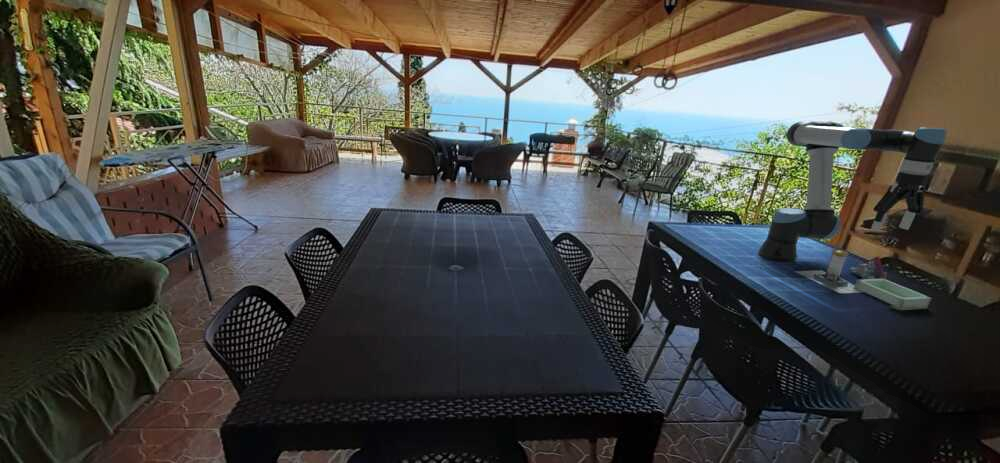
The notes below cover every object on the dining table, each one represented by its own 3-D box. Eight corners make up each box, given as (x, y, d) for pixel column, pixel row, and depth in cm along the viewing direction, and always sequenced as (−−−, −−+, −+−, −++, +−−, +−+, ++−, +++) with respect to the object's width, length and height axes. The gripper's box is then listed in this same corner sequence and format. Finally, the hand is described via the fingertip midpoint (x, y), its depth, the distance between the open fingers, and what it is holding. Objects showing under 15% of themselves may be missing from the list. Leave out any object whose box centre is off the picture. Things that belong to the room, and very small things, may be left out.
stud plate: (793, 273, 167) (795, 268, 167) (820, 272, 170) (822, 267, 169) (839, 295, 149) (841, 289, 148) (868, 294, 151) (871, 288, 151)
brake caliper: (899, 283, 157) (887, 259, 155) (868, 294, 161) (856, 271, 159) (880, 272, 167) (868, 249, 166) (851, 283, 171) (839, 261, 170)
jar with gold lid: (819, 278, 161) (829, 249, 157) (829, 278, 162) (839, 249, 158) (830, 283, 156) (841, 254, 152) (840, 283, 157) (851, 253, 153)
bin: (853, 289, 155) (856, 279, 153) (879, 288, 157) (883, 278, 156) (898, 310, 140) (902, 299, 138) (926, 308, 142) (931, 298, 141)
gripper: (899, 175, 131) (874, 233, 138) (953, 175, 136) (926, 231, 143) (874, 170, 137) (853, 226, 145) (927, 170, 143) (903, 224, 150)
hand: (889, 229), depth 144 cm, fingers open, 13 cm apart
